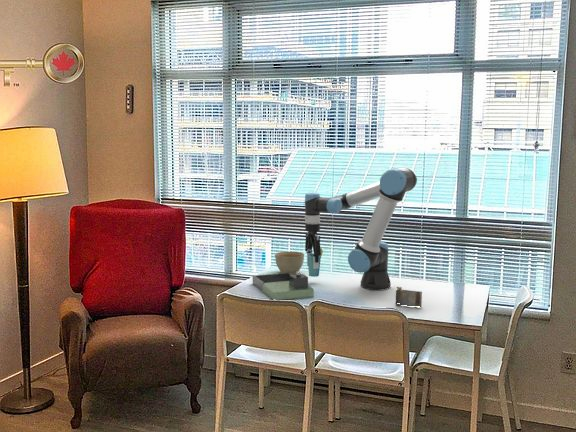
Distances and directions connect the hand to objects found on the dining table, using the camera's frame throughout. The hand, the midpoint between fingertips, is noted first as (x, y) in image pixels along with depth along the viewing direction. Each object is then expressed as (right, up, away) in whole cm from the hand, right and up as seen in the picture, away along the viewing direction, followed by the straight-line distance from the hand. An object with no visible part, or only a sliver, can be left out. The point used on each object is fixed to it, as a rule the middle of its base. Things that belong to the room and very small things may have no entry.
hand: (312, 266), depth 333 cm
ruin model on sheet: (+42, -16, -40) cm, 60 cm away
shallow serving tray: (-16, -11, -13) cm, 23 cm away
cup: (0, -5, +1) cm, 5 cm away
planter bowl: (-12, -6, +22) cm, 26 cm away
